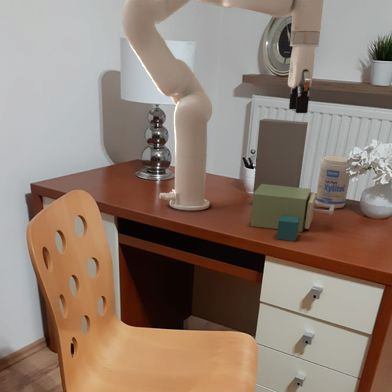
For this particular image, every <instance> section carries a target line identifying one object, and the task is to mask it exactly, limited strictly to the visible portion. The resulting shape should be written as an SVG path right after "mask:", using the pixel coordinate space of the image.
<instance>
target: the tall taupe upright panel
mask: <svg viewBox="0 0 392 392" xmlns="http://www.w3.org/2000/svg"><path fill="white" fill-rule="evenodd" d="M308 122H309V121H308ZM308 122H307V121H299V120H298V121H296V120H286V119H285V120H284V119H276V118H275V119H274V118H261V119H260V120H259V122H258V123H259V125H258V135H257V146H256V159H255V168H254V181H253V191H252V192H253V193H252V195H253V194H254V192H255V191H256V190H257V189H258V187H259V186H260V185H261V184H267V185H277V186H287V187H297V188H300V185H301V177H302V170H303V162H304V154H305V147H306V139H307V132H308V124H309V123H308ZM252 203H253V198H252V199H251V204H252Z"/></svg>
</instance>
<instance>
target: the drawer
mask: <svg viewBox="0 0 392 392" xmlns="http://www.w3.org/2000/svg"><path fill="white" fill-rule="evenodd" d="M316 193H317V192H311V193H310V199H309V202H308V207H307V214H306V221H305V225H304V230H305V229H306V230H309V229H310V227H311V223H312V221H313V218H314V213H322V214H323V213H325V214H329V215H333V214H334V212H335V209H334V208H335V206H334V205H331V206H330V205H320V204H316V203H315V199H316ZM324 207H325V208H324ZM320 208H324V209H320ZM325 209H326V210H325ZM327 209H328V210H327Z"/></svg>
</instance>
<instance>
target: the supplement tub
mask: <svg viewBox="0 0 392 392" xmlns="http://www.w3.org/2000/svg"><path fill="white" fill-rule="evenodd" d="M348 158H349V157H346V156H339V155H325V156H323V157H322V160H321V164H320V169H319V174H318V181H317V187H316V192H315V193H316V199H315V204H320V205H330V206H331V205H334V206H335V208H334V210H335V209H342V208H344V207H345V205H346V200H347V196H348V189H349V185H350V181H351V180H350V179H351V175H350V176H349V174H348V173H346V169H347V160H348ZM323 208H324V209H326V208H325V207H323Z"/></svg>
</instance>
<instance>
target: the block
mask: <svg viewBox="0 0 392 392" xmlns="http://www.w3.org/2000/svg"><path fill="white" fill-rule="evenodd" d="M299 221H300V218H299V217H291V216H281V217H280V219H279V222H278V229H277V232H276V240H284V241H291V242H296V241H297V238H298V236H299V235H298V234H299V232H298V228H299Z"/></svg>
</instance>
